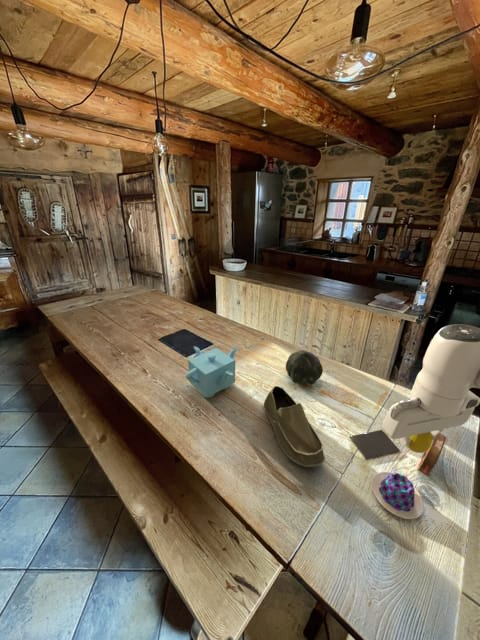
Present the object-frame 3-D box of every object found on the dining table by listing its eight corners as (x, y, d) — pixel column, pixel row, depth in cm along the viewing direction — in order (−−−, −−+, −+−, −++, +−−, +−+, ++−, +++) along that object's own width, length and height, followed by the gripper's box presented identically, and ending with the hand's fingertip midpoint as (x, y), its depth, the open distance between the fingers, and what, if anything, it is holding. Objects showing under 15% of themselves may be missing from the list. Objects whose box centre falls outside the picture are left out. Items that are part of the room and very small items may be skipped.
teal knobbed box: (185, 400, 100) (181, 368, 94) (195, 370, 117) (193, 341, 110) (234, 403, 99) (235, 371, 93) (238, 372, 116) (238, 343, 110)
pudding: (368, 468, 76) (372, 456, 74) (415, 480, 73) (421, 468, 71) (374, 511, 66) (379, 498, 64) (429, 528, 63) (436, 515, 61)
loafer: (300, 480, 73) (304, 454, 68) (253, 406, 98) (254, 384, 93) (332, 465, 77) (338, 440, 72) (279, 398, 102) (282, 376, 97)
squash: (314, 355, 120) (298, 336, 112) (334, 375, 107) (318, 357, 99) (291, 375, 121) (273, 359, 113) (308, 398, 109) (289, 382, 100)
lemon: (401, 455, 63) (410, 431, 60) (398, 437, 68) (407, 414, 64) (428, 463, 61) (439, 439, 58) (423, 444, 66) (434, 421, 62)
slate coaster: (381, 430, 89) (381, 429, 88) (399, 451, 82) (400, 450, 81) (349, 437, 86) (350, 436, 86) (365, 459, 79) (366, 457, 79)
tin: (428, 444, 84) (436, 424, 81) (439, 450, 82) (449, 430, 79) (414, 475, 75) (423, 455, 71) (426, 483, 73) (437, 463, 69)
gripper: (407, 414, 52) (388, 461, 58) (487, 399, 56) (463, 444, 62) (384, 392, 58) (369, 437, 64) (459, 380, 62) (439, 423, 68)
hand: (416, 441), depth 63 cm, fingers closed on lemon, 5 cm apart
